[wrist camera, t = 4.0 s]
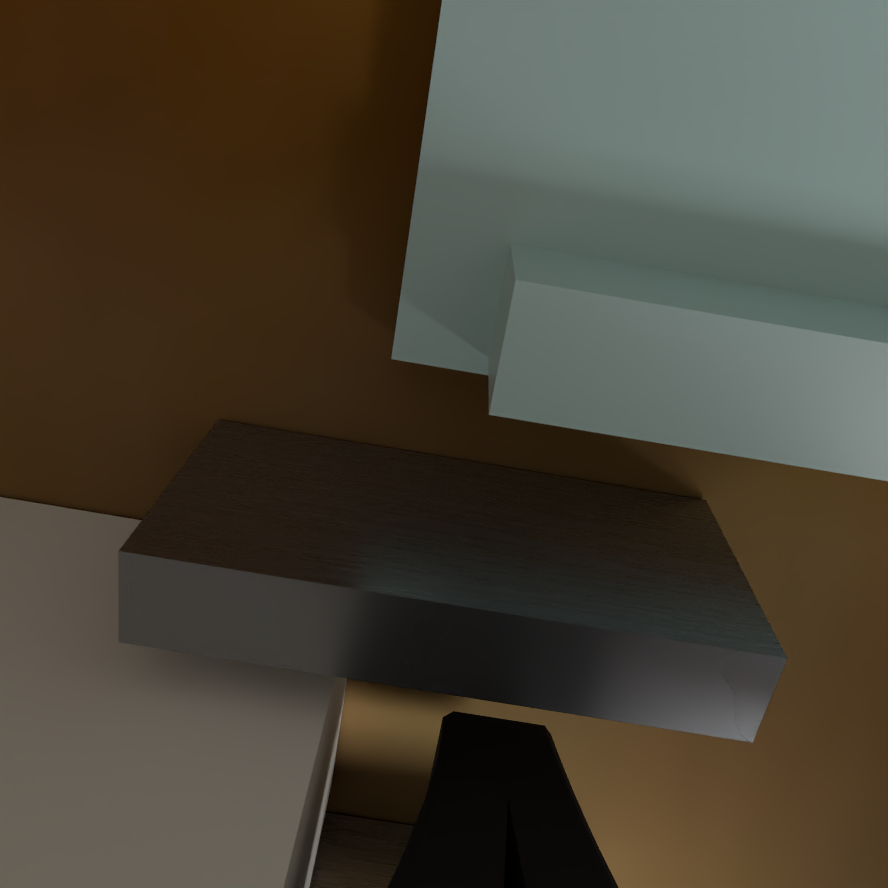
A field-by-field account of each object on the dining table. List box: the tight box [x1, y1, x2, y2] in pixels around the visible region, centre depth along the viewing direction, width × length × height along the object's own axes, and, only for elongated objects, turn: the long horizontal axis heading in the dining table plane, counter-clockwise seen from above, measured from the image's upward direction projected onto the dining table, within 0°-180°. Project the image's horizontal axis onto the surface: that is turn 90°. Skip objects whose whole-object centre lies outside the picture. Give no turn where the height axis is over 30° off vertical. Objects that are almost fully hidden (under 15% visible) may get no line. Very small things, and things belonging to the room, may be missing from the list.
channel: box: [118, 420, 787, 888], centre depth 10 cm, size 6×7×3 cm
